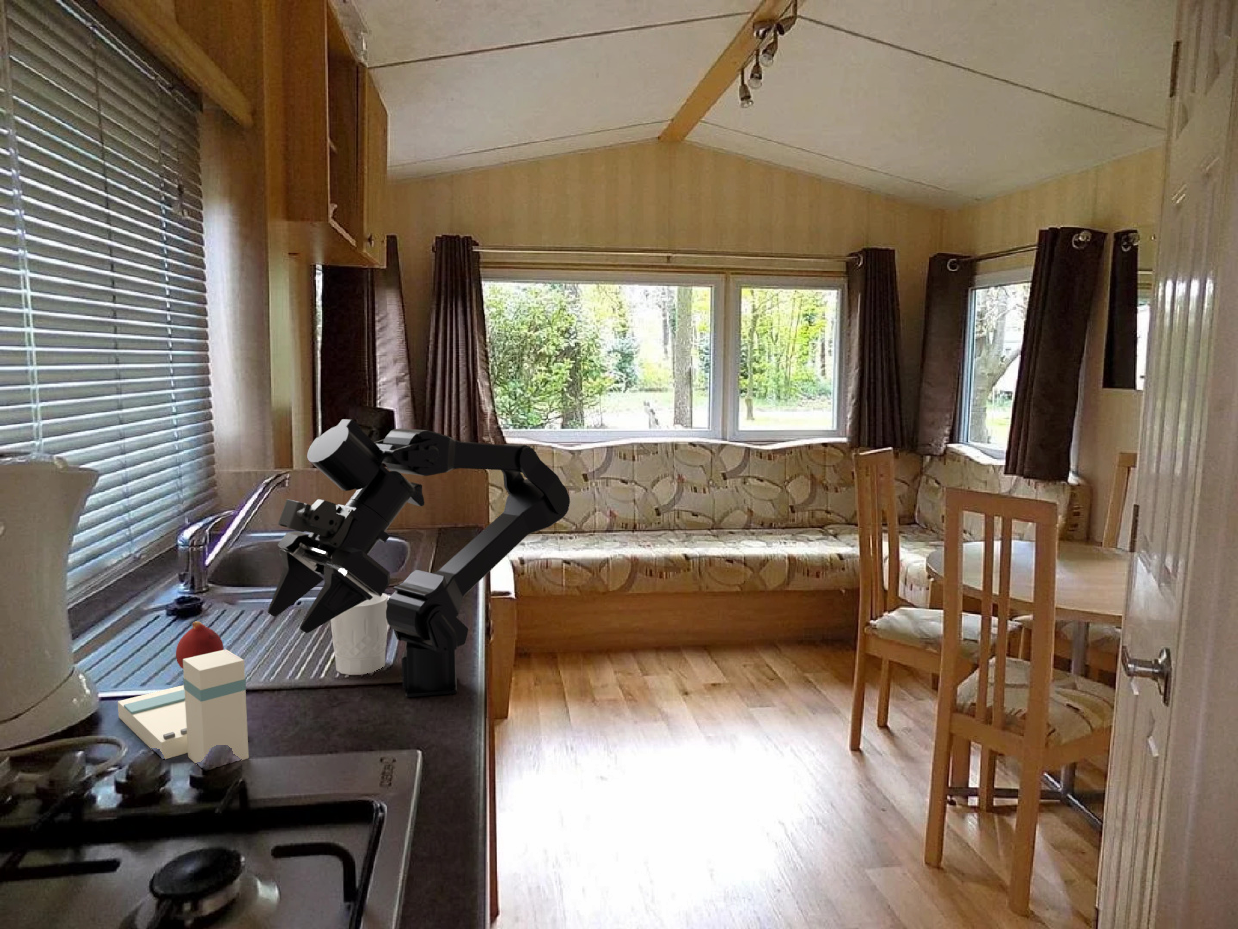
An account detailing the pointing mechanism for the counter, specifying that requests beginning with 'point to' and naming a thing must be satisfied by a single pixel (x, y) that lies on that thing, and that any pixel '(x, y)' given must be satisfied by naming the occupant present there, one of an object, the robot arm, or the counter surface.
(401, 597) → the robot arm
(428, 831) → the counter surface
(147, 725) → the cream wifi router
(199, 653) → the onion
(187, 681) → the cream box
